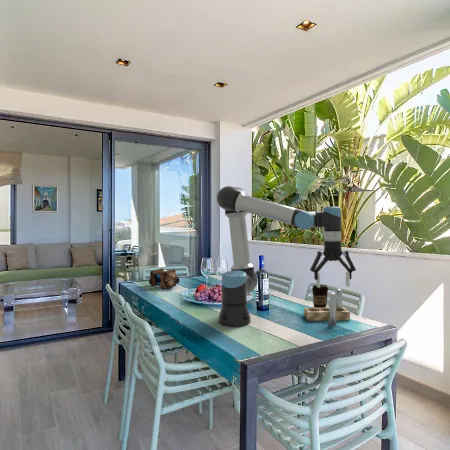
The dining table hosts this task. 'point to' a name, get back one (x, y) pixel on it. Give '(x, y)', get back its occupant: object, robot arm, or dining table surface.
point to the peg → (332, 308)
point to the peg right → (338, 299)
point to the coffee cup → (320, 296)
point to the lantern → (163, 278)
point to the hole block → (325, 314)
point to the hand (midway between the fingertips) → (332, 286)
